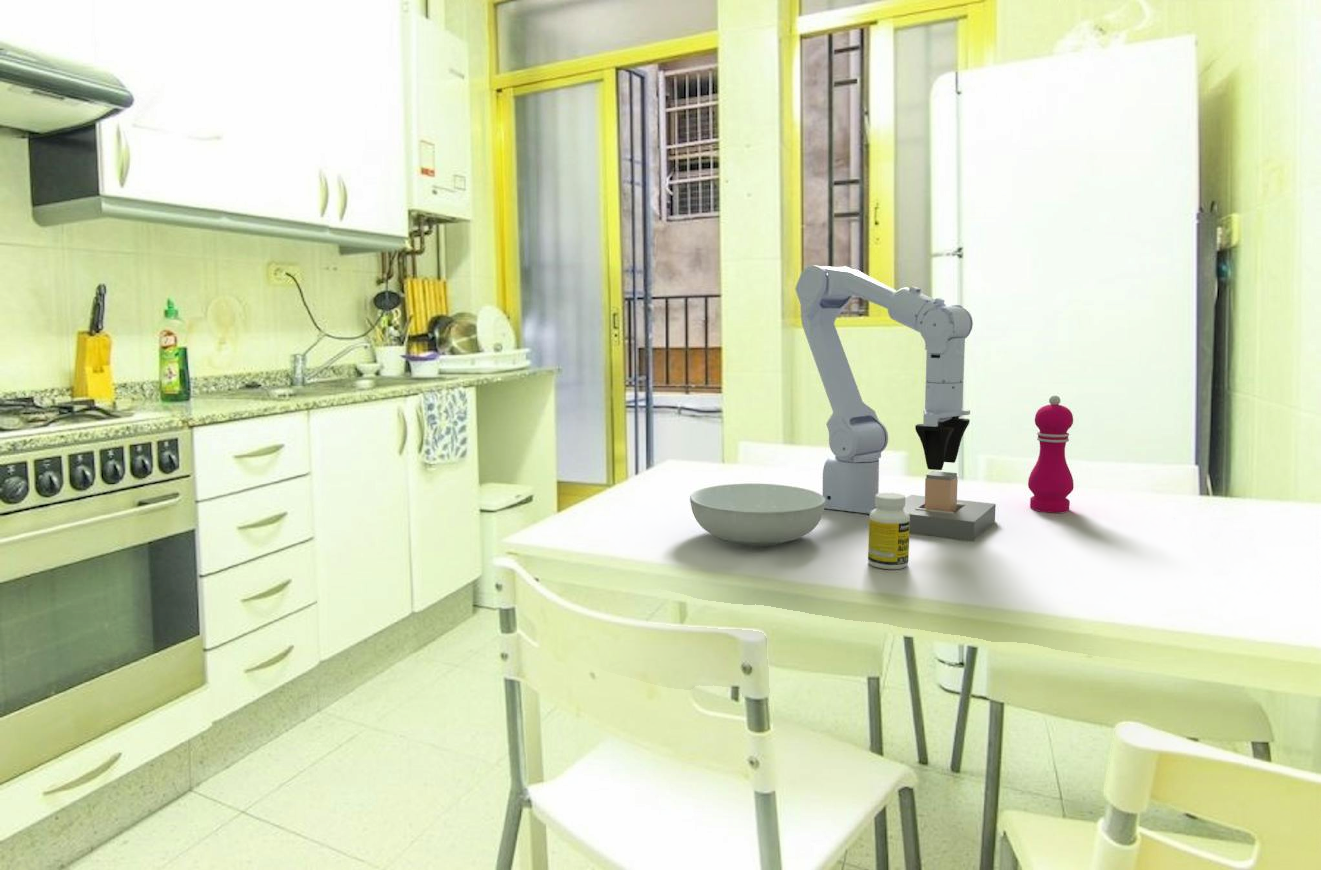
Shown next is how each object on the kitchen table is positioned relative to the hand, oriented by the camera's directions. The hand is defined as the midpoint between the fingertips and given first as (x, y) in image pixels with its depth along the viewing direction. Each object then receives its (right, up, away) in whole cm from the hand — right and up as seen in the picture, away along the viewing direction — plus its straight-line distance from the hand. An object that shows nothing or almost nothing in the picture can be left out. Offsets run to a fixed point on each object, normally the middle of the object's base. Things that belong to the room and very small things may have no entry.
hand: (941, 465), depth 132 cm
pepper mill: (+23, -8, +11) cm, 27 cm away
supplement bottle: (-14, -13, -19) cm, 27 cm away
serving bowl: (-30, -12, -4) cm, 33 cm away
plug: (0, -10, +1) cm, 10 cm away
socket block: (0, -10, +1) cm, 10 cm away
